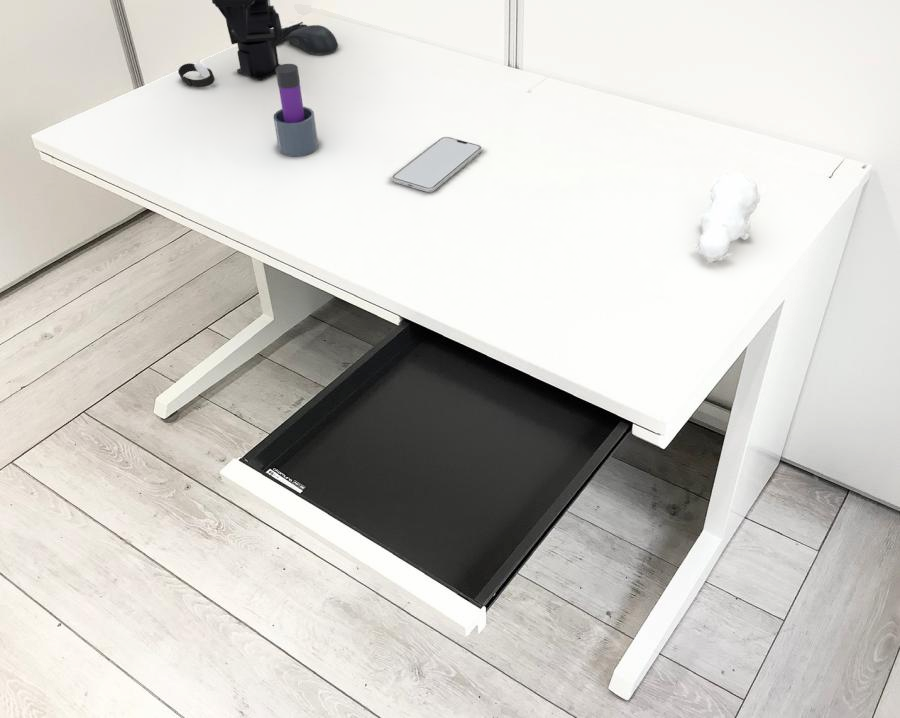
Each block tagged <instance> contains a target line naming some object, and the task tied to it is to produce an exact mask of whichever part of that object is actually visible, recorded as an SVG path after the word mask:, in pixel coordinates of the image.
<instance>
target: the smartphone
mask: <svg viewBox="0 0 900 718" xmlns="http://www.w3.org/2000/svg"><path fill="white" fill-rule="evenodd" d="M481 152H482V146H481V145H479V144H476V143H473V142H469V141H465V140H461V139H458V138H453V137H450V136H443V137H441V138H439V139H438V140H437V141H436V142H434V143H433V144H432V145H430V146H429V147H428V148H427V149H425V150H424V151H422V152H421V153H420V154H419V155H418V156H416V157H415V158H413V159H412V160H411V161H410V162H408V163H407V164H406V165H405V166H403V167H402V168H400V169H399V170H398V171H396V172H395V173H394V174H393V175H392V177H391V178H392V181H393V182H394V183H396V184H400V185H403V186H405V187H410V188H413V189H417V190H420V191H422V192H426V193H432V192H434V191H436V190H437V189H438V188H439V187H441V186H442V185H443V184H444V183H445V182H446V181H448V180H449V179H450V178H451V177H453V176H454V175H455V174H457V172H458V171H460V170H461V169H462V168H463V167H464V166H466V165H467V164H468V163H469V162H470V161H471V160H473V159H474V158H475V157H477V156H478V155H479V154H480V153H481Z"/></svg>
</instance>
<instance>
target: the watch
mask: <svg viewBox="0 0 900 718" xmlns="http://www.w3.org/2000/svg"><path fill="white" fill-rule="evenodd" d="M177 72H178V75H179V77H180V79H181V81H182V82H183V83H184V85H186V86H189V87H194V88H206V87H208V86H211V85H213V84H214V83H215V76H214V73H213V71H212V69H210V67H208V66H207V65H206V64H205V63H204V62H203V61H201V60H197V61H196V62H195V63H192V62H191V63H190V62H189V63H184V64H182V65H181V66H179V68H178V71H177ZM190 72H197V73H198V74H199V75H200V76H202V77H203V78H202V79H192V78H189V77H186V76H185V75H187V73H190Z"/></svg>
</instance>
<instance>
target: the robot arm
mask: <svg viewBox="0 0 900 718" xmlns="http://www.w3.org/2000/svg"><path fill="white" fill-rule="evenodd" d="M211 3H212V4H213V5H214V6H215V7H216V8H217V9H218V10H219V12H220V13H221V14H222V16H223V17H224V19H225V22H226V23H225V24H226V27H227V31H228V34H229V35H228V36H229V39H230V43H231V45H236V44H237V48H238V50H237V58H238V64H239V68H238V69H236V72H237V74H240V75H243V76H245V77H249V78H251V79H254V80H257V81H263V80H265V79H267V78H269V77H271V76H274V75H276V67H278V66H279V65H281V64H280V61H279V56H278V50H277V45H276V43H275V41H279V38H281V37H283V34H282V28H283V27H282V23H281V17H280V15H279V14H280V13H278V12H277V11H276V9H275V5H271V0H211Z"/></svg>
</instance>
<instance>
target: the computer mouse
mask: <svg viewBox="0 0 900 718" xmlns="http://www.w3.org/2000/svg"><path fill="white" fill-rule="evenodd" d="M282 34H283V37H281V38H279V41H275V43H276V46H278V45H280V44H281V43H283V42H284V41H285V40H287V41H288V43H289V44H290V45H293V46H295V47H297V48H300V49H301V50H303V51H305V52H306V53H308V54H311V55H315V56H322V55H323V56H324V55H329V54H333V53H334V52H335V51H336V50H337V49H338V47H339V44H338V41H337V38H336V37H335V34H333V32H332V31H331V30H330V29H329V28H327V27H326V26H323V25H319V24H313V25H307V24H304V22H303V21H301V22H299V23H296V24H292V25H290V26H286V27H282Z"/></svg>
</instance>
